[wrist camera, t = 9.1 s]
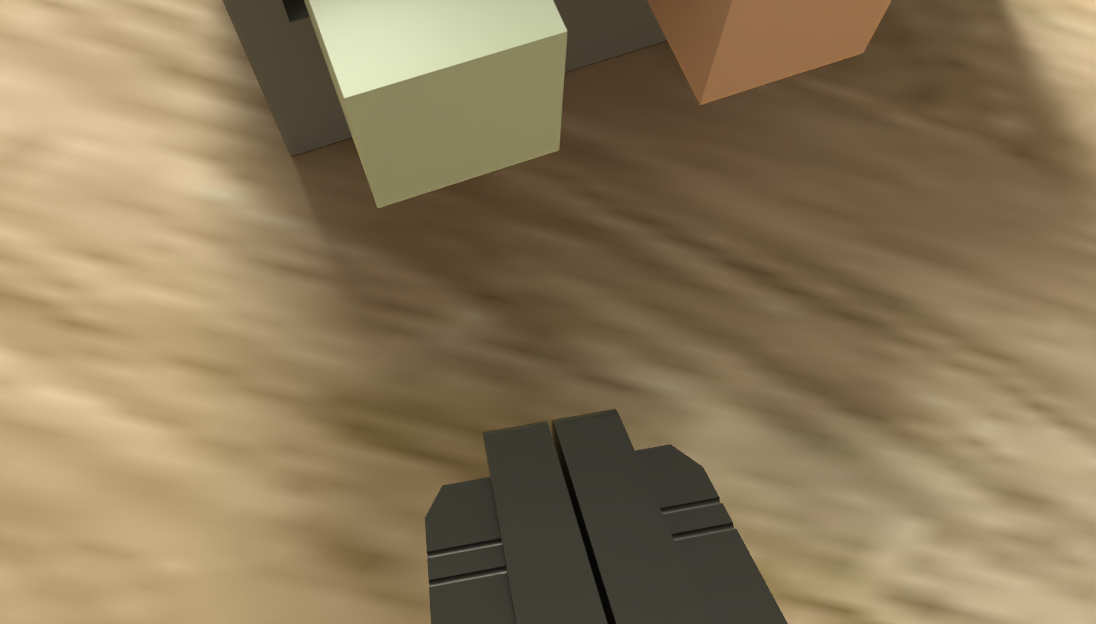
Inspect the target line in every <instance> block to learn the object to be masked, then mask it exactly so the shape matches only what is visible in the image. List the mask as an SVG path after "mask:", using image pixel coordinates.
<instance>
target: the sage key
mask: <svg viewBox="0 0 1096 624" xmlns="http://www.w3.org/2000/svg"><path fill="white" fill-rule="evenodd" d="M304 2H305V5H306V8H307V11H308V14H309V16H310V19H311V22H312V25H313V28H314V30H315V33H316V36H317V39H318V42H319V45H320V47H321V50H322V53H323V56H324V59H325V62H326V64H327V67H328V70H329V73H330V76H331V78H332V81H333V84H334V87H335V90H336V93H337V95H338V98H339V101H340V104H341V107H342V109H343V112H344V115H345V118H346V121H347V124H348V126H349V129H350V132H351V135H352V138H353V141H354V143H355V146H356V149H357V152H358V155H359V157H360V160H361V163H362V166H363V169H364V172H365V174H366V177H367V180H368V183H369V186H370V188H371V191H372V194H373V197H374V200H375V203H376V205H377V208H381V207H384V206H387V205H390V204H393V203H396V202H400V201H403V200H406V199H409V198H412V197H415V196H418V195H421V194H425V193H428V192H431V191H434V190H437V189H440V188H443V187H446V186H450V185H453V184H456V183H459V182H462V181H465V180H468V179H471V178H475V177H478V176H481V175H484V174H487V173H490V172H493V171H496V170H500V169H503V168H506V167H509V166H512V165H515V164H518V163H521V162H525V161H528V160H531V159H534V158H537V157H540V156H543V155H546V154H550V153H553V152H556V151H559V145H560V131H561V117H562V102H563V88H564V74H565V59H566V45H567V29H566V27H565V25H564V23H563V21H562V18H561V16H560V14H559V12H558V10H557V8H556V5H555V3H554V1H553V0H304Z"/></svg>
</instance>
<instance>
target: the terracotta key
mask: <svg viewBox="0 0 1096 624" xmlns="http://www.w3.org/2000/svg"><path fill="white" fill-rule="evenodd" d="M891 1H892V0H647V2H648V4H649V6H650V8H651V10H652V12H653V14H654V16H655V18H656V19H657V21H658V23H659V25H660V27H661V29H662V31H663V33H664V35H665V37H666V39H667V41H668V43H669V45H670V47H671V49H672V51H673V53H674V55H675V57H676V59H677V61H678V63H679V65H680V67H681V69H682V71H683V73H684V75H685V77H686V79H687V81H688V83H689V85H690V87H691V89H692V91H693V93H694V95H695V97H696V99H697V101H698V103H699V104H700V105H703V104H706V103H709V102H712V101H715V100H718V99H721V98H725V97H728V96H731V95H734V94H737V93H740V92H743V91H746V90H750V89H753V88H756V87H759V86H762V85H765V84H768V83H771V82H775V81H778V80H781V79H784V78H787V77H790V76H793V75H796V74H800V73H803V72H806V71H809V70H812V69H815V68H818V67H821V66H825V65H828V64H831V63H834V62H837V61H840V60H843V59H846V58H850V57H853V56H856V55H859V54H862V53H864V51H865V49H866V47H867V45H868V44H869V42H870V40H871V38H872V36H873V34H874V32H875V31H876V29H877V27H878V25H879V23H880V21H881V19H882V18H883V16H884V14H885V12H886V10H887V8H888V7H889V5H890V3H891Z"/></svg>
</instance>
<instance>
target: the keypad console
mask: <svg viewBox="0 0 1096 624" xmlns="http://www.w3.org/2000/svg"><path fill="white" fill-rule="evenodd" d="M553 1H554V3H555V5H556V8H557V10H558V12H559V14H560V16H561V18H562V21H563V23H564V25H565V27H566V29H567V45H566V59H565V72H567V71H570V70H573V69H577V68H580V67H583V66H586V65H590V64H593V63H596V62H599V61H603V60H606V59H609V58H612V57H616V56H619V55H622V54H625V53H629V52H632V51H635V50H638V49H642V48H645V47H648V46H651V45H655V44H658V43H661V42H664V41H667V39H666V37H665V35H664V33H663V31H662V29H661V27H660V25H659V23H658V21H657V19H656V18H655V16H654V14H653V12H652V10H651V8H650V6H649V4H648V2H647V0H553ZM223 2H224V4H225V7H226V9H227V11H228V13H229V16H230V18H231V20H232V23H233V25H234V27H235V29H236V32H237V34H238V36H239V39H240V41H241V43H242V45H243V48H244V50H245V52H246V55H247V57H248V59H249V61H250V64H251V66H252V68H253V70H254V73H255V75H256V77H257V80H258V82H259V84H260V86H261V89H262V91H263V93H264V96H265V98H266V100H267V102H268V105H269V107H270V109H271V112H272V114H273V116H274V118H275V121H276V123H277V125H278V128H279V130H280V132H281V134H282V137H283V139H284V141H285V144H286V146H287V148H288V150H289V153H290V155H291V156H293V155H297V154H300V153H303V152H306V151H310V150H313V149H316V148H319V147H323V146H326V145H329V144H332V143H336V142H339V141H342V140H345V139H349V138H352V135H351V132H350V129H349V126H348V124H347V121H346V118H345V115H344V112H343V109H342V107H341V104H340V101H339V98H338V95H337V93H336V90H335V87H334V84H333V81H332V78H331V76H330V73H329V70H328V67H327V64H326V62H325V59H324V56H323V53H322V50H321V47H320V45H319V42H318V39H317V36H316V33H315V30H314V28H313V25H312V22H311V19H310V16H309V14H308V11H307V8H306V5H305V2H304V0H223Z"/></svg>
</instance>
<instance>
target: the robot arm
mask: <svg viewBox="0 0 1096 624" xmlns="http://www.w3.org/2000/svg"><path fill="white" fill-rule="evenodd" d="M551 428H552V435H551V432H550V429H549V426H548V423H547V421H545V422H540V423H534V424H528V425H523V426H517V427H511V428H505V429H500V430H494V431H488V432H483V436H484V442H485V448H486V455H487V461H488V467H489V473H490V477H488V478H482V479H477V480H471V481H466V482H460V483H455V484H449V485H443V486H442V488H441V490H440V491H439V493H438V495H437V497H436V499H435V501H434V502H433V504H432V506H431V508H430V510H429V512H428V513H427V515H426V517H425V525H426V542H427V554H428V575H429V584H430V587H429V592H430V609H431V624H788V623H787V622H786V620H785V618H784V616H783V614H782V612H781V611H780V609H779V607H778V605H777V603H776V601H775V599H774V598H773V596H772V594H771V592H770V590H769V588H768V586H767V585H766V583H765V581H764V579H763V577H762V575H761V574H760V572H759V570H758V568H757V566H756V564H755V562H754V561H753V559H752V557H751V555H750V553H749V551H748V550H747V548H746V546H745V544H744V542H743V540H742V538H741V537H740V535H739V533H738V531H737V529H734V527H733V522H732V520H731V518H730V516H729V514H728V513H727V511H726V509H725V507H724V505H723V503H720V500H719V496H718V494H717V492H716V490H715V489H714V487H713V485H712V483H711V481H710V479H709V478H708V476H707V474H706V472H705V470H704V468H703V467H702V466H701V465H699V464H698V463H696V462H695V461H693V460H692V459H691V458H689V457H688V456H686V455H685V454H683V453H682V452H681V451H679V450H678V449H676V448H675V447H673V446H672V445H665V446H659V447H654V448H648V449H643V450H637V451H635V450H634V448H633V446H632V444H631V441H630V439H629V437H628V434H627V432H626V430H625V428H624V425H623V423H622V421H621V418H620V416H619V414H618V412H617V411H616V410H615V409H613V410H607V411H601V412H596V413H590V414H584V415H578V416H573V417H567V418H561V419H556V420H552V422H551Z"/></svg>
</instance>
